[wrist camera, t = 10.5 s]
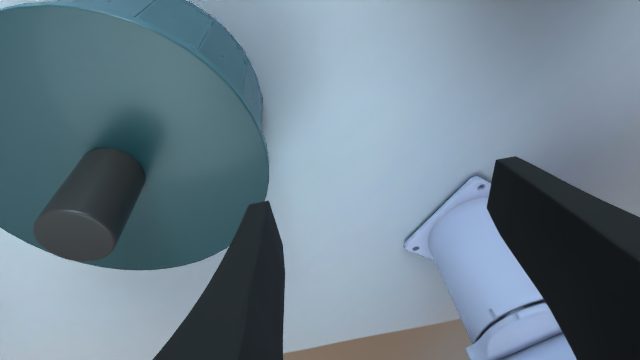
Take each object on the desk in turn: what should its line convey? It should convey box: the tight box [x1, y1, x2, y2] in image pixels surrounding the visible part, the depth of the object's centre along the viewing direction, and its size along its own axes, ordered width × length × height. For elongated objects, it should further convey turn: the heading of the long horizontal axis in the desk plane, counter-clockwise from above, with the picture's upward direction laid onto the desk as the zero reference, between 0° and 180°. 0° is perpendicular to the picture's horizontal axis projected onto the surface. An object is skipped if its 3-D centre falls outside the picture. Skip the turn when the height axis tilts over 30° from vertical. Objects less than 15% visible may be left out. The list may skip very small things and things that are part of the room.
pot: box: [54, 0, 263, 126], centre depth 17 cm, size 11×11×6 cm
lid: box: [0, 2, 269, 270], centre depth 13 cm, size 12×12×5 cm
